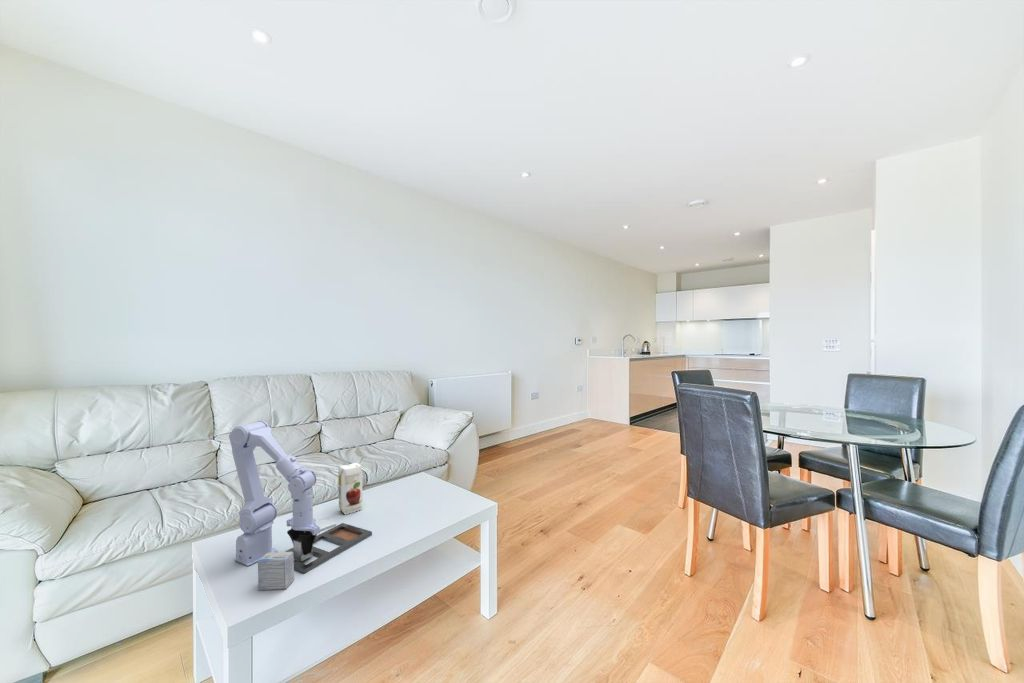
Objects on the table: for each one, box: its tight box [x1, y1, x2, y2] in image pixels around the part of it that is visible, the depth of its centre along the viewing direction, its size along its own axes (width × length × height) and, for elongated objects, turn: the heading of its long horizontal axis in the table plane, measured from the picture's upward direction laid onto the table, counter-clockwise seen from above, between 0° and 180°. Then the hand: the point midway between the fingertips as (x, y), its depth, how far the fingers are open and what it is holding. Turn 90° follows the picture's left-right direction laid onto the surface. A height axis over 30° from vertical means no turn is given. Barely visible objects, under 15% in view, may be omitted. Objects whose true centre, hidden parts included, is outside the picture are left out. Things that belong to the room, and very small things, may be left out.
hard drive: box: [315, 517, 337, 533], centre depth 142 cm, size 2×8×12 cm
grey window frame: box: [284, 522, 373, 575], centre depth 128 cm, size 26×16×1 cm, turn 152°
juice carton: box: [337, 462, 364, 516], centre depth 158 cm, size 8×9×19 cm
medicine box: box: [257, 551, 295, 591], centre depth 108 cm, size 8×4×9 cm, turn 92°
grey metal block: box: [292, 538, 314, 563], centre depth 121 cm, size 4×4×6 cm
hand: (303, 551), depth 121 cm, fingers closed on grey metal block, 4 cm apart
